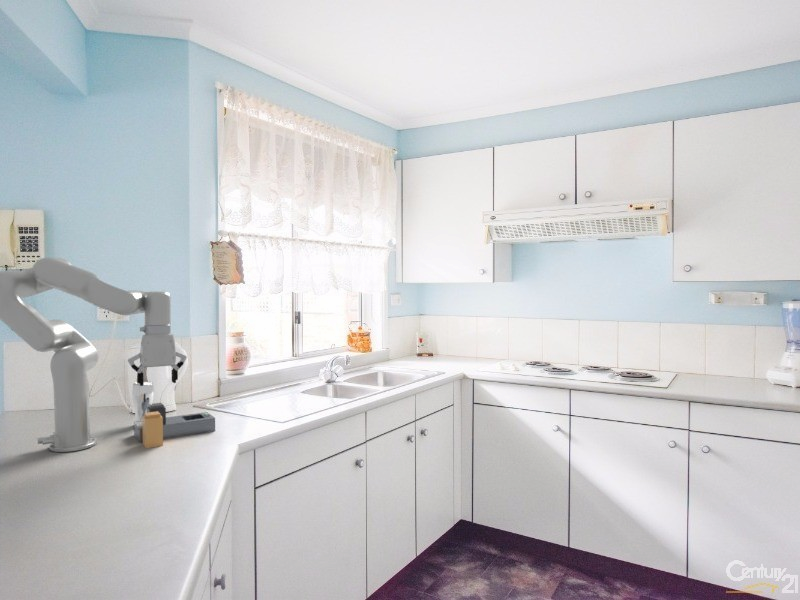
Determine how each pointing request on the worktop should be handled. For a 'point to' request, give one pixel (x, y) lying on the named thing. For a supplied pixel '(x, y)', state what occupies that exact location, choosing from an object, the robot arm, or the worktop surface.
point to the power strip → (178, 423)
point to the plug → (152, 429)
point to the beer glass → (142, 398)
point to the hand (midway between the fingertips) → (157, 383)
